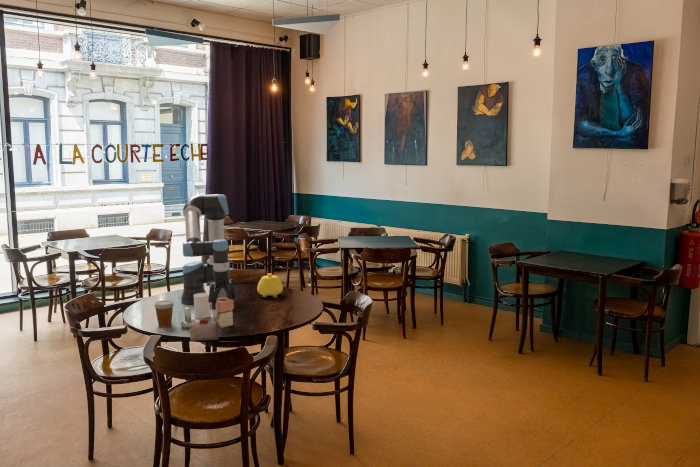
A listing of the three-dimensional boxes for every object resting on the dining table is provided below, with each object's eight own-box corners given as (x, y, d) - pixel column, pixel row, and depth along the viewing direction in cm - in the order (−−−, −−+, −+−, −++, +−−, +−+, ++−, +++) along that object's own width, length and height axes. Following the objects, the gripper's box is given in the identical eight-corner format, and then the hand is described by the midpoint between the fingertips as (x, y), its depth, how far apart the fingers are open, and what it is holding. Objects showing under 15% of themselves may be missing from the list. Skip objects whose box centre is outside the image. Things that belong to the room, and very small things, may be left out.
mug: (192, 313, 332) (191, 292, 330) (207, 312, 335) (206, 290, 334) (195, 319, 321) (194, 297, 320) (211, 317, 325) (210, 295, 323)
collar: (211, 309, 310) (211, 300, 309) (224, 306, 316) (223, 297, 315) (220, 312, 305) (220, 302, 304) (233, 309, 311) (233, 299, 310)
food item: (188, 342, 283) (187, 322, 282) (190, 337, 291) (189, 317, 290) (218, 341, 285) (217, 321, 284) (219, 336, 293) (218, 316, 292)
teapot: (259, 291, 383) (259, 269, 381) (284, 290, 384) (283, 269, 382) (255, 298, 364) (255, 276, 362) (281, 298, 364) (281, 276, 362)
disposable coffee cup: (157, 323, 315) (156, 300, 313) (176, 322, 316) (175, 300, 314) (153, 328, 306) (152, 305, 304) (172, 327, 306) (171, 304, 305)
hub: (178, 327, 307) (177, 308, 306) (190, 324, 312) (189, 305, 311) (186, 330, 302) (185, 310, 301) (198, 327, 308) (197, 307, 306)
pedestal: (213, 325, 311) (212, 311, 310) (224, 322, 316) (224, 309, 315) (221, 327, 306) (221, 314, 305) (232, 324, 311) (232, 311, 310)
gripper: (208, 274, 297) (210, 319, 300) (242, 267, 312) (243, 310, 316) (199, 272, 302) (201, 316, 305) (233, 265, 317) (234, 308, 321)
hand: (222, 313), depth 311 cm, fingers closed on collar, 8 cm apart
